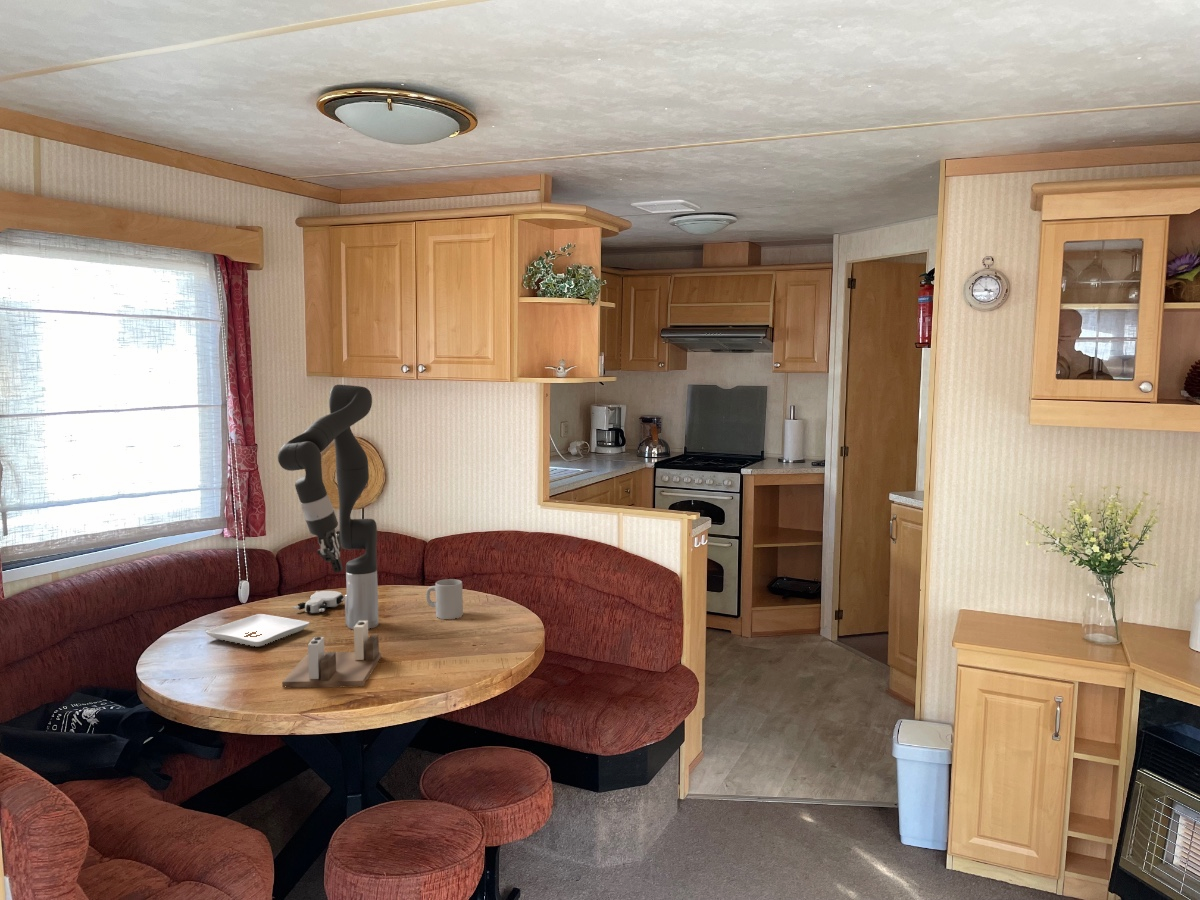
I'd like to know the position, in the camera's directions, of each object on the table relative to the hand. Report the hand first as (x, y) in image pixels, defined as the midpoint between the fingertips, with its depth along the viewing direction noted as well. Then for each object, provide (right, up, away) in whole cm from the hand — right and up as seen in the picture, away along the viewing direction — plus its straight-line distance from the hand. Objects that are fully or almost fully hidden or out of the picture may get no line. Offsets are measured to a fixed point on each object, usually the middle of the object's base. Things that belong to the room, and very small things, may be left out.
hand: (338, 570), depth 242 cm
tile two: (-1, -25, -14) cm, 28 cm away
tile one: (+6, -23, 0) cm, 24 cm away
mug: (+21, -20, +44) cm, 53 cm away
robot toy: (-21, -20, +51) cm, 59 cm away
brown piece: (0, -26, -7) cm, 27 cm away
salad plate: (-31, -23, +23) cm, 45 cm away
